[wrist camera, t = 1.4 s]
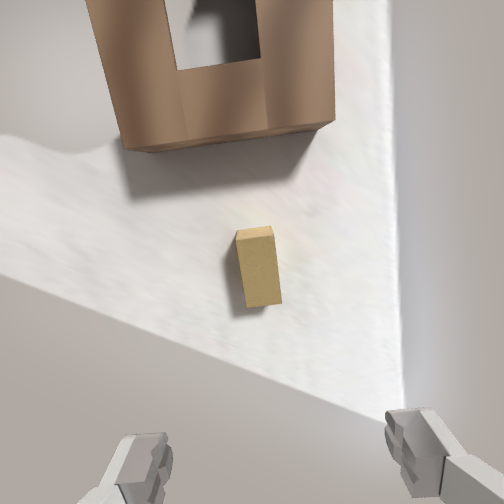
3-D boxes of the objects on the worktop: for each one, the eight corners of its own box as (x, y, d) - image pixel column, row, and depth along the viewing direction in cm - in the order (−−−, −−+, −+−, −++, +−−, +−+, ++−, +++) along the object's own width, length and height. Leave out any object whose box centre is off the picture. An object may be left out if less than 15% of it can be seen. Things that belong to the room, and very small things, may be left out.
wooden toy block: (247, 289, 29) (246, 308, 25) (237, 230, 27) (235, 240, 23) (278, 285, 29) (282, 303, 25) (270, 225, 27) (273, 234, 23)
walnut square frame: (149, 152, 24) (124, 149, 19) (88, -108, 19) (31, -204, 14) (318, 129, 24) (335, 119, 19) (306, -147, 18) (326, -261, 13)
